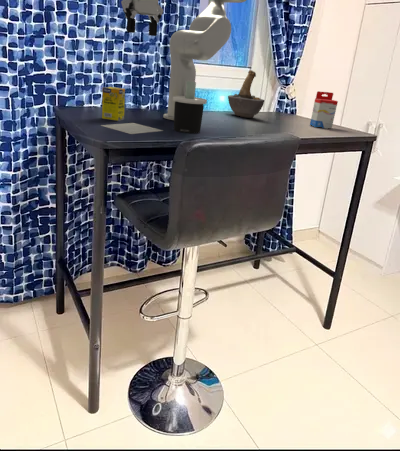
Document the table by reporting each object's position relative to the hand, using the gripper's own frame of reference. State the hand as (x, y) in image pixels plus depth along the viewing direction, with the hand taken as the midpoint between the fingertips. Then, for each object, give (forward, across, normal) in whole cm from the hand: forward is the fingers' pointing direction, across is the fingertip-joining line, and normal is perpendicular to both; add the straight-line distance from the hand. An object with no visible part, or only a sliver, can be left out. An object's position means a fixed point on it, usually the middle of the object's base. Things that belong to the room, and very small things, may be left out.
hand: (142, 34), depth 135 cm
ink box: (+28, -75, +36) cm, 88 cm away
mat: (+28, +12, +10) cm, 32 cm away
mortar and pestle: (+28, -60, +5) cm, 67 cm away
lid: (+18, -3, +20) cm, 27 cm away
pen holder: (+29, -3, +20) cm, 35 cm away
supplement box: (+28, +7, -5) cm, 30 cm away
